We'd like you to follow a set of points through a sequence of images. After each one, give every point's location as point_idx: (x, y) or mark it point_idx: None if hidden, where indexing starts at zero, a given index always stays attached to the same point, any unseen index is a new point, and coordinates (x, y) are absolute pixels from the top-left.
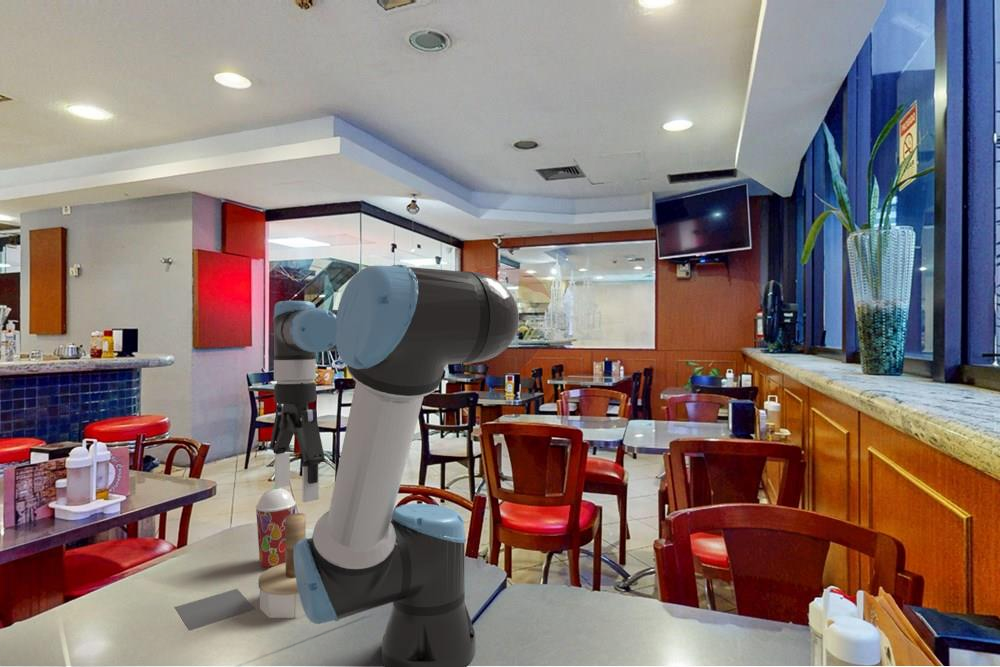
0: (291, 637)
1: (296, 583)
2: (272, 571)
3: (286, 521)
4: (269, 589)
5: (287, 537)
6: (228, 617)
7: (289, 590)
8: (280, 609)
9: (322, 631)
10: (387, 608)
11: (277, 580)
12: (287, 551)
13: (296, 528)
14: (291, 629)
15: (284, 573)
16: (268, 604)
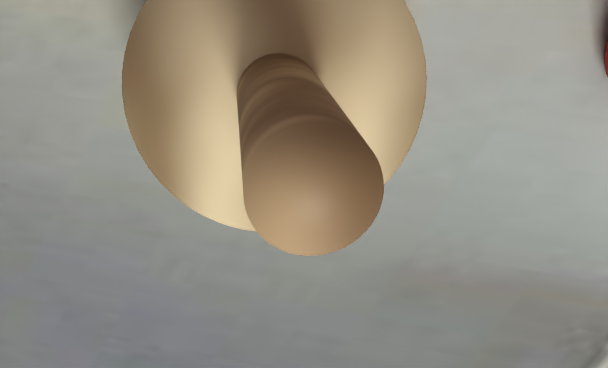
0: (34, 23)
1: (173, 85)
2: (357, 4)
3: (289, 121)
4: None
5: (270, 99)
6: None
7: (126, 48)
8: None
9: (37, 123)
10: (109, 322)
11: (243, 12)
12: (265, 81)
13: (241, 166)
14: (93, 31)
15: (306, 51)
16: None
